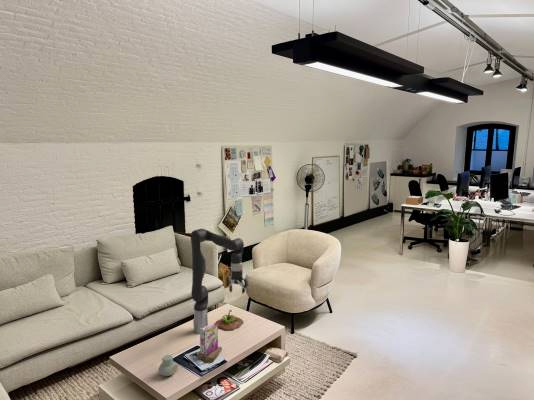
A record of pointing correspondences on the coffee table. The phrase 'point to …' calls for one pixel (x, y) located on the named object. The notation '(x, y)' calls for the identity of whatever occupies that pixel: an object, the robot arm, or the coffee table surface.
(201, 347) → the candy bar box
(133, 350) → the coffee table surface
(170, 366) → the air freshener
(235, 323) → the plant
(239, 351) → the coffee table surface
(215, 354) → the walnut plinth
